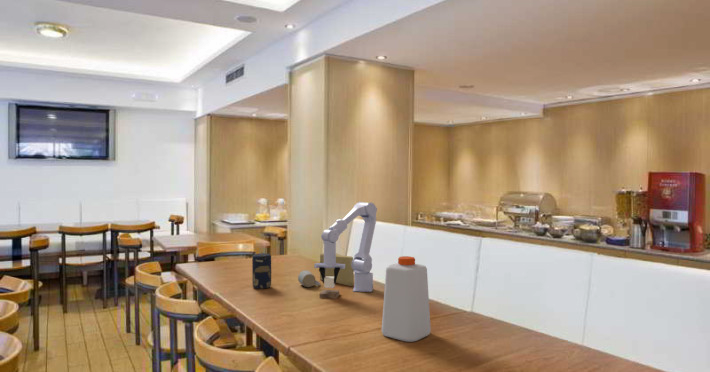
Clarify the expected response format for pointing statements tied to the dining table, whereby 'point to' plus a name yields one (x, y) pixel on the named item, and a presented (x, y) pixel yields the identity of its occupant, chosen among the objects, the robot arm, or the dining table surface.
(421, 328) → the plastic bottle
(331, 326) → the dining table surface
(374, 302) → the dining table surface
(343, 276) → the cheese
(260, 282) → the canister
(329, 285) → the cream cube
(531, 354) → the dining table surface
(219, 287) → the dining table surface
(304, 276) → the ceramic mug
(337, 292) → the walnut base
